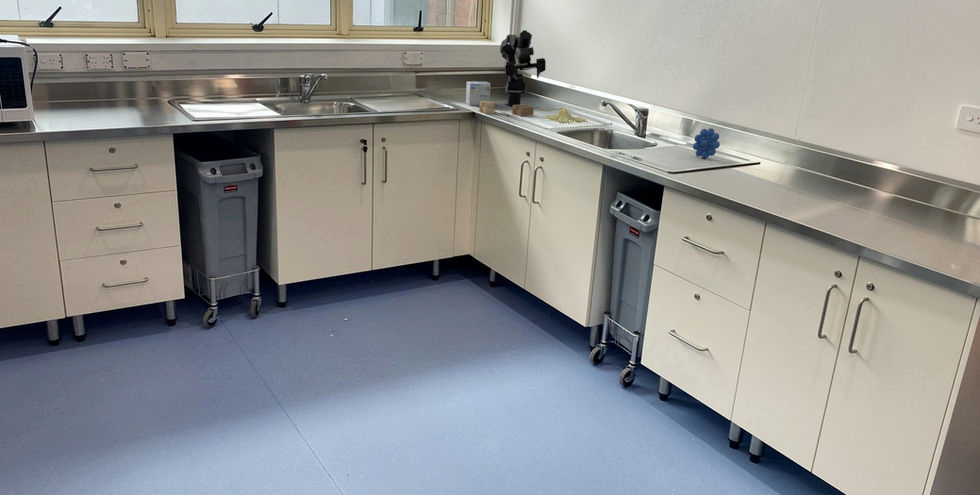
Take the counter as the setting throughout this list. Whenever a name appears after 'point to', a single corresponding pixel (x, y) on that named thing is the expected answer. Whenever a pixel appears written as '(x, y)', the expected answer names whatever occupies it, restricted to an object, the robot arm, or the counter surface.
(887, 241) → the counter surface
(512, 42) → the robot arm
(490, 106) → the oak cube
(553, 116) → the cloth
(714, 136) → the blue flower shape
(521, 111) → the walnut base block
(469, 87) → the light bulb box
